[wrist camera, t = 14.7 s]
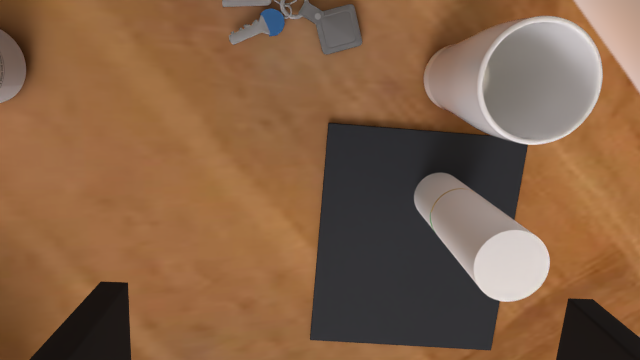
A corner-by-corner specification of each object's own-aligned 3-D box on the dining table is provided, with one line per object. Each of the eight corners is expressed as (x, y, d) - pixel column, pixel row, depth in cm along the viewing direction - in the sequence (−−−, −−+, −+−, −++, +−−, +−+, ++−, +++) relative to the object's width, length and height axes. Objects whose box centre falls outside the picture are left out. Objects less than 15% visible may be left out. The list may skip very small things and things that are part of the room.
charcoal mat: (328, 122, 40) (328, 123, 40) (526, 138, 41) (528, 139, 40) (310, 337, 44) (310, 340, 44) (489, 348, 45) (491, 350, 45)
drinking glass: (410, 118, 40) (470, 145, 25) (416, 33, 38) (483, 11, 24) (490, 120, 40) (594, 148, 26) (498, 36, 39) (615, 15, 24)
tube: (421, 168, 41) (486, 223, 26) (469, 178, 41) (559, 237, 26) (408, 215, 41) (464, 294, 27) (455, 224, 42) (536, 307, 27)
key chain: (375, 25, 38) (377, 24, 37) (312, 107, 39) (312, 107, 39) (233, -96, 36) (232, -100, 35) (171, -6, 37) (168, -7, 36)
